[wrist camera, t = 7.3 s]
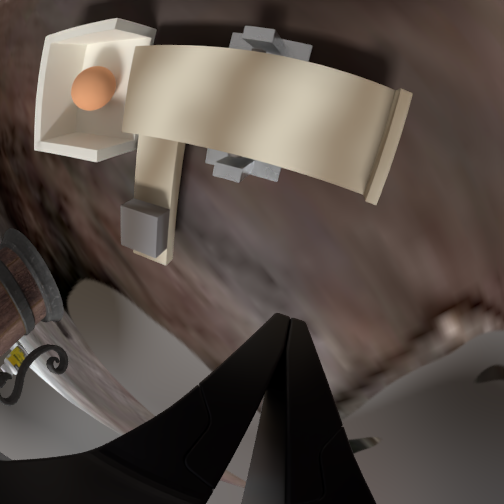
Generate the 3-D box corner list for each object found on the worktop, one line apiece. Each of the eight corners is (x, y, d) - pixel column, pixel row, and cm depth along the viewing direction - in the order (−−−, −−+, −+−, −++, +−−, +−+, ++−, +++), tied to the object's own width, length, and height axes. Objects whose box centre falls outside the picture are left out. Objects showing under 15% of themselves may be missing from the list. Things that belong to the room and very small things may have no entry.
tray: (156, 29, 14) (117, 17, 10) (136, 149, 19) (96, 162, 15) (84, 38, 15) (46, 36, 11) (71, 138, 20) (34, 150, 16)
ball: (81, 68, 15) (122, 66, 16) (76, 109, 17) (116, 108, 18) (68, 66, 12) (115, 64, 14) (62, 114, 14) (108, 112, 15)
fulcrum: (312, 46, 13) (309, 32, 10) (277, 181, 18) (268, 194, 15) (234, 33, 14) (215, 20, 11) (206, 161, 18) (185, 171, 16)
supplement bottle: (33, 359, 54) (13, 381, 46) (27, 358, 56) (9, 379, 48) (21, 344, 52) (0, 366, 44) (16, 343, 55) (-3, 364, 46)
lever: (402, 93, 12) (415, 89, 9) (320, 311, 19) (316, 335, 17) (144, 45, 14) (121, 40, 11) (126, 240, 21) (107, 255, 19)
